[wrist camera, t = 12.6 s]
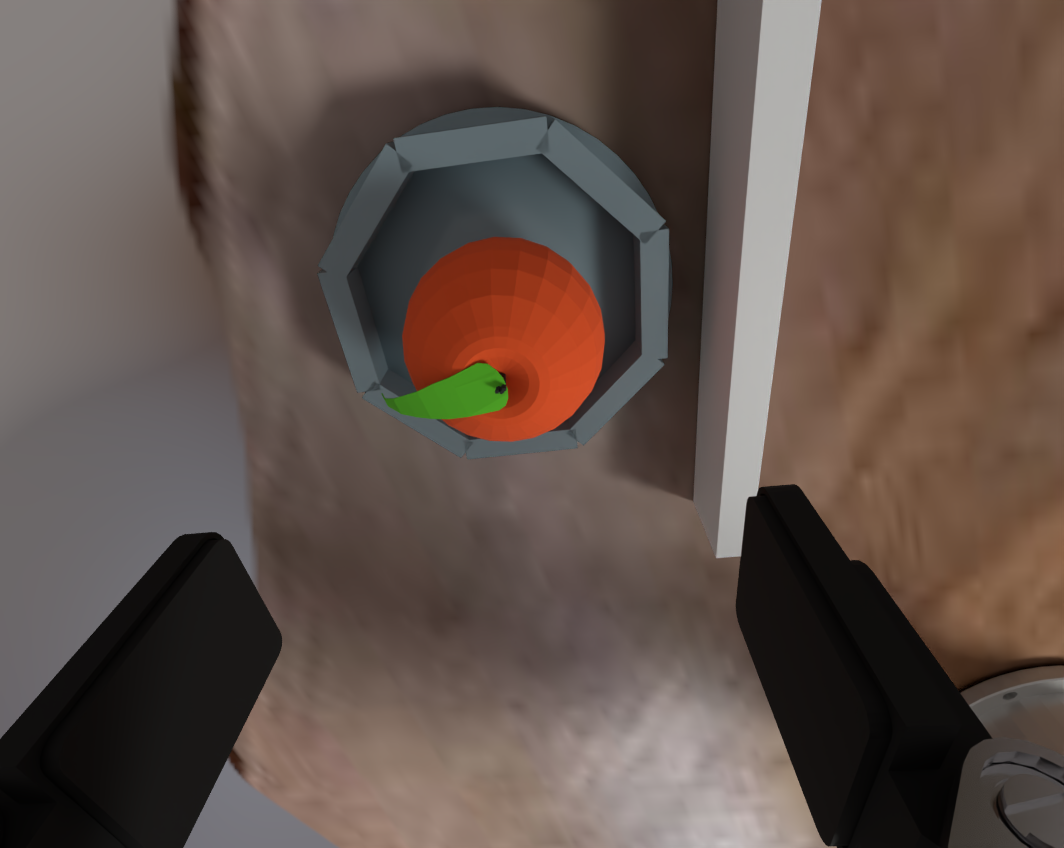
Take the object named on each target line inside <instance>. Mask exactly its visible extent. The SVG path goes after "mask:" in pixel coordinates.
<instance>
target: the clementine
mask: <svg viewBox="0 0 1064 848" xmlns="http://www.w3.org/2000/svg"><path fill="white" fill-rule="evenodd" d="M402 340H403V352H404V361H405V364H406V366H407V369H408V372H409V374H410V377H411V380H412V382H413V384H414V386H415V388H416V390H417V391H416V392H413V393H410V394H407V395H403V396H400V397H396V398H385V397H384V395H383V393H381V394H382V396H383V398H384V400H385V402H386V404H387V405H388V407H390V408H392V409H393V410H395V411H397V412H399V413H400V414H403V415H408V416H413V417H419V418H427V419H442V420H443V421H444V422H445V423H446V424H447V425H449V426H451V427H453V428H455V429H457V430H459V431H461V432H463V433H465V434H467V435H469V436H473V437H477V438H481V439H484V440H488V441H507V442H513V441H519V440H524V439H530V438H535V437H537V436H539V435H541V434H544V433H546V432H548V431H551V430H553V429H555V428H556V427H558V426H559V425H560V424H561V423H563V422H564V421H565V420H567V419H568V418H569V417H571V416H572V415H573V414H574V413H575V411H576V410H577V409H578V408H579V407H580V405H581V404H582V403H583V402H584V400H585V399H586V398H587V396H588V395H589V394H590V393H591V391H592V390H593V387H594V385H595V383H596V380H597V378H598V376H599V373H600V371H601V368H602V360H603V353H604V345H605V332H604V326H603V319H602V313H601V308H600V306H599V304H598V302H597V300H596V298H595V295H594V293H593V291H592V289H591V287H590V285H589V284H588V283H587V282H586V280H585V279H584V278H583V277H582V276H581V275H580V273H579V272H578V271H577V270H576V269H575V268H574V267H573V265H572V264H571V263H570V262H569V261H568V260H566V259H565V258H563V257H562V256H560V255H559V254H557V253H556V252H554V251H553V250H551V249H550V248H548V247H547V246H544V245H541V244H538V243H535V242H532V241H529V240H526V239H523V238H511V237H491V238H487V239H482V240H478V241H474V242H469V243H467V244H465V245H464V246H462V247H460V248H458V249H456V250H455V251H453V252H451V253H449V254H447V255H446V256H444V257H442V258H441V259H439V260H438V262H437V263H436V264H435V265H434V266H433V267H432V268H431V269H430V270H429V271H428V272H427V273H426V274H425V275H424V276H423V277H422V278H421V279H420V281H419V283H418V285H417V287H416V289H415V291H414V293H413V294H412V296H411V298H410V300H409V304H408V309H407V314H406V319H405V324H404V329H403V334H402Z"/></svg>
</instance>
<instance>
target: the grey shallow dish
mask: <svg viewBox="0 0 1064 848" xmlns="http://www.w3.org/2000/svg"><path fill="white" fill-rule="evenodd" d="M393 139H394V142H390V143H386V144H385V146H384V148H383V150H382V152H380V153H379V154H378V155H377V157H376V158H375V159H374V160H373V161H372V162H371V163H370V164H369V166H368V167H367V168H366V169H365V170H364V171H363V172H362V174H361V176H360V177H359V179H358V180H357V182H356V183H355V185H354V186H353V188H352V189H351V191H350V193H349V195H348V197H347V199H346V201H345V203H344V206H343V208H342V210H341V212H340V215H339V218H338V222H337V225H336V229H335V232H334V235H333V239H332V241H331V243H330V245H329V246H328V248H327V250H326V252H325V254H324V255H323V257H322V259H321V261H320V262H319V264H318V266H319V267H320V268H322V270H321V271H320V272H319V273H317V275H318V277H319V280H320V283H321V286H322V289H323V292H324V295H325V298H326V301H327V304H328V307H329V310H330V313H331V316H332V319H333V322H334V325H335V328H336V331H337V334H338V337H339V340H340V343H341V346H342V349H343V352H344V354H345V357H346V360H347V363H348V366H349V369H350V372H351V375H352V378H353V381H354V384H355V387H356V390H357V393H358V392H365V394H364V395H363V397H362V398H363V399H364V400H366V401H368V402H369V403H371V404H373V405H374V406H376V407H378V408H379V409H381V410H382V411H384V412H386V413H387V414H389V415H391V416H392V417H394V418H396V419H397V420H399V421H401V422H402V423H404V424H406V425H407V426H409V427H411V428H412V429H414V430H416V431H417V432H419V433H420V434H422V435H424V436H425V437H427V438H429V439H430V440H432V441H434V442H435V443H437V444H439V445H440V446H442V447H444V448H445V449H447V450H449V451H450V452H452V453H454V454H455V455H457V456H459V457H460V458H461V457H462V456H463V455H464V454H465V453H466V456H467V459H476V458H486V457H496V456H505V455H515V454H525V453H535V452H545V451H555V450H565V449H574V448H578V447H577V441H578V442H579V443H581V444H582V445H585V444H586V443H587V442H588V441H589V440H590V439H591V438H592V437H593V436H594V435H595V434H596V433H597V432H598V431H599V430H600V429H601V428H602V427H603V426H604V425H605V424H606V423H607V422H608V421H609V420H610V419H611V418H612V417H613V416H614V415H615V414H616V413H617V412H618V411H619V410H620V409H621V408H622V407H623V406H624V405H625V404H626V403H627V402H628V401H629V400H630V399H631V398H632V397H633V396H634V395H635V394H636V393H637V392H638V391H639V390H640V389H641V388H642V387H643V386H644V385H645V384H646V383H647V382H648V381H649V380H650V379H651V378H652V377H653V376H654V375H655V374H656V373H657V372H658V371H659V370H660V369H661V368H662V367H663V366H664V365H665V364H664V362H663V361H662V359H663V358H668V317H669V312H670V308H671V298H672V286H673V281H672V261H671V256H670V251H669V228H668V227H667V226H666V225H664V223H665V222H666V221H665V220H664V219H663V218H662V217H661V216H660V215H659V214H658V212H657V210H656V208H655V206H654V204H653V202H652V200H651V198H650V196H649V194H648V193H647V191H646V190H645V188H644V187H643V185H642V184H641V182H640V181H639V180H638V178H637V177H636V175H635V174H634V173H633V172H632V171H631V169H630V168H629V167H628V166H627V165H626V164H625V163H624V162H623V161H622V160H621V159H620V158H619V157H618V155H616V154H615V153H614V152H613V151H611V150H610V149H609V148H608V147H607V146H605V145H604V144H603V143H602V142H600V141H599V140H598V139H596V138H595V137H593V136H591V135H590V134H588V133H586V132H585V131H583V130H581V129H580V128H578V127H576V126H574V125H572V124H570V123H568V122H565V121H563V120H560V119H558V118H555V117H553V116H550V115H547V114H543V113H539V112H534V111H530V110H526V109H518V108H506V107H489V108H475V109H468V110H463V111H459V112H454V113H450V114H446V115H443V116H440V117H438V118H435V119H433V120H430V121H428V122H425V123H423V124H421V125H419V126H417V127H415V128H414V129H412V130H410V131H409V132H407V133H405V134H404V135H402V136H400V137H397V138H393ZM491 237H511V238H523V239H526V240H529V241H532V242H535V243H538V244H541V245H544V246H547V247H548V248H550V249H551V250H553V251H554V252H556V253H557V254H559V255H560V256H562V257H563V258H565V259H566V260H568V261H569V262H570V263H571V264H572V265H573V267H574V268H575V269H576V270H577V271H578V272H579V273H580V275H581V276H582V277H583V278H584V279H585V280H586V282H587V283H588V284H589V285H590V287H591V289H592V291H593V293H594V295H595V298H596V300H597V302H598V304H599V306H600V308H601V313H602V319H603V326H604V332H605V345H604V353H603V360H602V368H601V371H600V373H599V376H598V378H597V380H596V383H595V385H594V387H593V390H592V391H591V393H590V394H589V395H588V396H587V398H586V399H585V400H584V402H583V403H582V404H581V405H580V407H579V408H578V409H577V410H576V411H575V413H574V414H573V415H572V416H571V417H569V418H568V419H567V420H565V421H564V422H563V423H561V424H560V425H559V426H558V427H556V428H555V429H553V430H551V431H548V432H546V433H544V434H541V435H539V436H537V437H535V438H530V439H524V440H519V441H513V442H507V441H488V440H484V439H481V438H477V437H473V436H469V435H467V434H465V433H463V432H461V431H459V430H457V429H455V428H453V427H451V426H449V425H447V424H446V423H445V422H444V421H443V420H442V419H427V418H419V417H413V416H408V415H403V414H400V413H399V412H397V411H395V410H393V409H392V408H390V407H388V405H387V404H386V402H385V400H384V398H383V396H382V394H381V393H383V395H384V397H385V398H396V397H400V396H403V395H407V394H410V393H413V392H416V391H417V390H416V388H415V386H414V384H413V382H412V380H411V377H410V374H409V372H408V369H407V366H406V364H405V361H404V352H403V340H402V334H403V329H404V324H405V319H406V314H407V309H408V304H409V300H410V298H411V296H412V294H413V293H414V291H415V289H416V287H417V285H418V283H419V281H420V279H421V278H422V277H423V276H424V275H425V274H426V273H427V272H428V271H429V270H430V269H431V268H432V267H433V266H434V265H435V264H436V263H437V262H438V260H439V259H441V258H442V257H444V256H446V255H447V254H449V253H451V252H453V251H455V250H456V249H458V248H460V247H462V246H464V245H465V244H467V243H469V242H474V241H478V240H482V239H487V238H491Z"/></svg>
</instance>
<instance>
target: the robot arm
mask: <svg viewBox="0 0 1064 848" xmlns="http://www.w3.org/2000/svg"><path fill="white" fill-rule="evenodd" d="M736 613H737V618H738V622H739V625H740V628H741V631H742V634H743V636H744V639H745V641H746V644H747V647H748V649H749V652H750V655H751V657H752V660H753V662H754V665H755V668H756V670H757V673H758V676H759V678H760V681H761V683H762V686H763V689H764V691H765V694H766V697H767V699H768V702H769V704H770V707H771V710H772V712H773V715H774V718H775V720H776V723H777V725H778V728H779V731H780V733H781V736H782V739H783V741H784V744H785V746H786V749H787V752H788V754H789V757H790V760H791V762H792V765H793V767H794V770H795V773H796V775H797V778H798V781H799V783H800V786H801V788H802V791H803V794H804V796H805V799H806V802H807V804H808V807H809V809H810V812H811V815H812V817H813V820H814V823H815V825H816V828H817V830H818V832H819V835H820V837H821V838H822V840H823V842H824V843H825V844H826V845H827V846H837V848H1064V666H1063V665H1057V666H1042V667H1035V668H1029V669H1023V670H1018V671H1015V672H1011V673H1007V674H1003V675H1000V676H997V677H994V678H991V679H989V680H986V681H983V682H981V683H979V684H977V685H974V686H972V687H970V688H968V689H966V690H964V691H962V692H961V693H960V692H959V691H958V689H957V688H956V687H955V685H954V684H953V682H952V681H951V680H950V678H949V677H948V675H947V674H946V673H945V671H944V670H943V669H942V667H941V666H940V664H939V663H938V662H937V660H936V659H935V657H934V656H933V655H932V653H931V652H930V650H929V649H928V648H927V646H926V645H925V643H924V642H923V641H922V639H921V638H920V637H919V635H918V634H917V632H916V631H915V630H914V628H913V627H912V625H911V624H910V623H909V621H908V620H907V618H906V617H905V616H904V614H903V613H902V612H901V610H900V609H899V607H898V606H897V605H896V603H895V602H894V600H893V599H892V598H891V596H890V595H889V593H888V592H887V591H886V589H885V588H884V586H883V585H882V584H881V582H880V581H879V580H878V578H877V577H876V575H875V574H874V573H873V571H872V570H871V569H870V568H869V567H868V566H867V565H866V564H865V563H863V562H861V561H859V560H851V561H850V560H849V558H848V557H847V556H846V554H845V553H844V551H843V550H842V548H841V547H840V545H839V544H838V542H837V541H836V540H835V538H834V537H833V535H832V534H831V532H830V531H829V529H828V528H827V526H826V525H825V523H824V522H823V521H822V519H821V518H820V516H819V515H818V513H817V512H816V510H815V509H814V507H813V506H812V505H811V503H810V502H809V500H808V499H807V497H806V496H805V494H804V493H803V491H802V490H801V489H800V488H799V487H798V486H797V485H795V484H792V485H780V486H768V487H761V488H759V490H758V492H757V496H751V497H748V499H747V503H746V512H745V521H744V531H743V540H742V550H741V559H740V568H739V578H738V587H737V597H736ZM281 647H282V636H281V633H280V631H279V629H278V627H277V625H276V623H275V622H274V620H273V618H272V616H271V614H270V613H269V611H268V609H267V607H266V605H265V604H264V602H263V600H262V598H261V596H260V595H259V593H258V591H257V589H256V587H255V585H254V584H253V582H252V580H251V578H250V576H249V575H248V573H247V571H246V569H245V567H244V566H243V564H242V562H241V560H240V559H239V557H238V555H237V553H236V551H235V549H234V547H233V546H232V544H231V543H230V542H229V541H228V540H226V539H224V538H223V537H222V536H221V535H220V534H218V533H216V532H208V533H196V534H184V535H182V536H179V537H178V538H177V539H176V540H175V541H173V543H172V544H171V545H170V546H169V547H168V548H167V550H166V551H165V552H164V553H163V554H162V555H161V556H160V557H159V559H158V560H157V561H156V562H155V563H154V565H152V567H151V568H150V569H149V570H148V571H147V572H146V573H145V575H144V576H143V577H142V578H141V579H140V580H139V582H137V584H136V585H135V586H134V587H133V588H132V589H131V591H130V592H129V593H128V594H127V595H126V596H125V597H124V598H123V600H122V601H121V602H120V603H119V604H118V605H117V607H116V608H115V609H114V610H113V611H112V612H111V613H110V614H109V616H108V617H107V618H106V619H105V620H104V621H103V622H102V624H101V625H100V626H99V627H98V628H97V629H96V631H95V632H94V633H93V634H92V635H91V636H90V637H89V638H88V640H87V641H86V642H85V643H84V644H83V645H82V646H81V647H80V649H79V650H78V651H77V652H76V653H75V654H74V656H73V657H72V658H71V659H70V660H69V661H68V662H67V663H66V665H65V666H64V667H63V668H62V669H61V670H60V671H59V673H58V674H57V675H56V676H55V677H54V678H53V679H52V681H51V682H50V683H49V684H48V685H47V686H46V687H45V689H44V690H43V691H42V692H41V693H40V694H39V696H38V697H37V698H36V699H35V700H34V701H33V702H32V703H31V705H30V706H29V707H28V708H27V709H26V710H25V712H24V713H23V714H22V715H21V716H20V717H19V718H18V719H17V720H16V722H15V723H14V724H13V725H12V726H11V727H10V728H9V730H8V731H7V732H6V733H5V734H4V735H3V736H2V738H1V739H0V848H183V847H184V845H185V843H186V841H187V839H188V837H189V835H190V833H191V831H192V829H193V827H194V825H195V823H196V821H197V819H198V817H199V815H200V813H201V811H202V809H203V807H204V805H205V803H206V801H207V799H208V797H209V795H210V793H211V791H212V789H213V787H214V785H215V783H216V781H217V779H218V777H219V775H220V773H221V771H222V769H223V767H224V765H225V762H226V761H227V758H228V756H229V754H230V752H231V750H232V748H233V746H234V744H235V742H236V740H237V738H238V736H239V734H240V732H241V730H242V728H243V726H244V724H245V722H246V720H247V718H248V716H249V714H250V712H251V710H252V708H253V706H254V704H255V702H256V700H257V698H258V696H259V694H260V692H261V690H262V688H263V686H264V684H265V682H266V680H267V678H268V676H269V674H270V672H271V670H272V668H273V666H274V664H275V662H276V660H277V658H278V656H279V653H280V651H281Z"/></svg>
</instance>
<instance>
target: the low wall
mask: <svg viewBox="0 0 1064 848" xmlns="http://www.w3.org/2000/svg"><path fill="white" fill-rule="evenodd" d="M821 1H822V0H718V1H717V22H716V43H715V63H714V84H713V105H712V125H711V146H710V166H709V187H708V208H707V228H706V249H705V270H704V290H703V311H702V332H701V352H700V373H699V393H698V414H697V435H696V455H695V476H694V497H693V502H694V505H695V507H696V510H697V512H698V515H699V517H700V520H701V522H702V525H703V527H704V530H705V532H706V534H707V537H708V539H709V542H710V544H711V547H712V549H713V552H714V554H715V557H716V558H725V557H737V556H741V550H742V540H743V531H744V521H745V512H746V503H747V499H748V497H751V496H757V492H758V486H759V478H760V470H761V463H762V455H763V447H764V439H765V432H766V424H767V416H768V409H769V401H770V393H771V386H772V378H773V370H774V363H775V355H776V347H777V339H778V332H779V324H780V316H781V309H782V301H783V293H784V286H785V278H786V270H787V263H788V255H789V247H790V239H791V232H792V224H793V216H794V209H795V201H796V193H797V186H798V178H799V170H800V163H801V155H802V147H803V139H804V132H805V124H806V116H807V109H808V101H809V93H810V86H811V78H812V70H813V63H814V55H815V47H816V40H817V32H818V24H819V16H820V9H821Z"/></svg>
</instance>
